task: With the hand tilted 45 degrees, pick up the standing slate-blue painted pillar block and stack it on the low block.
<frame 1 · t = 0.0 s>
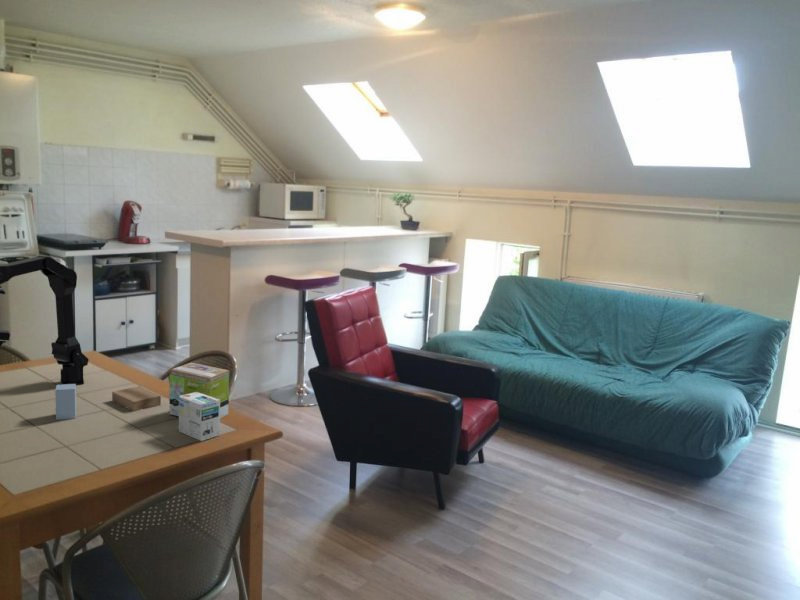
tea box: (199, 416, 202), on the table
pillar block: (66, 416, 194), on the table
light bulb box: (199, 434, 188), on the table
stack block: (136, 404, 209), on the table
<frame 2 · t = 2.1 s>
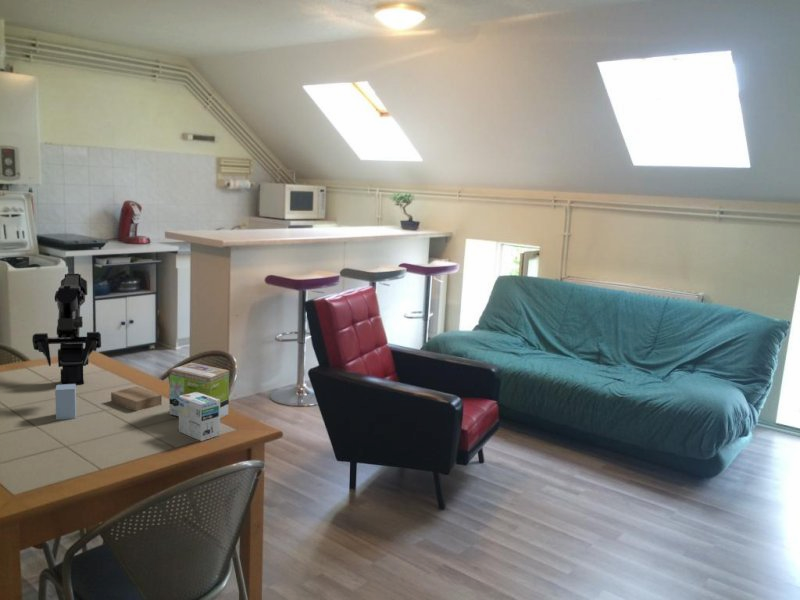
hand: (66, 364, 199), 13 cm above the table, tool tilted 45°, fingers open, 9 cm apart
nothing on the table moved.
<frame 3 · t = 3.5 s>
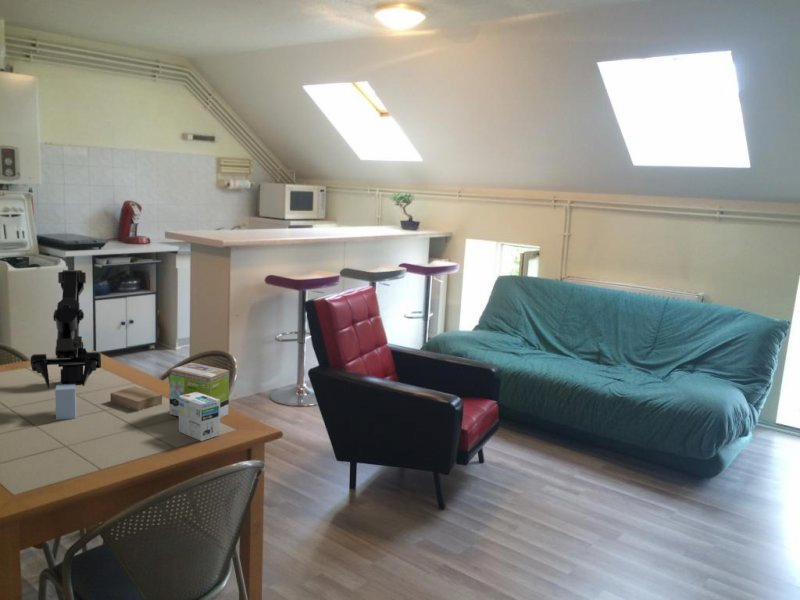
hand: (65, 386, 194), 9 cm above the table, tool tilted 45°, fingers open, 9 cm apart
nothing on the table moved.
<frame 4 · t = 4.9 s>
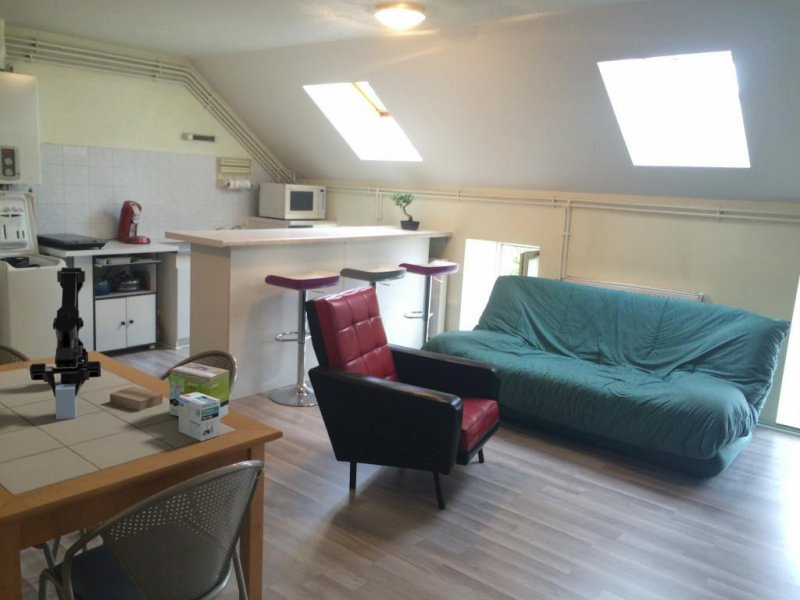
hand: (65, 396, 192), 7 cm above the table, tool tilted 45°, fingers closed on pillar block, 5 cm apart
pillar block: (66, 416, 194), on the table, touching gripper
everything else where it was.
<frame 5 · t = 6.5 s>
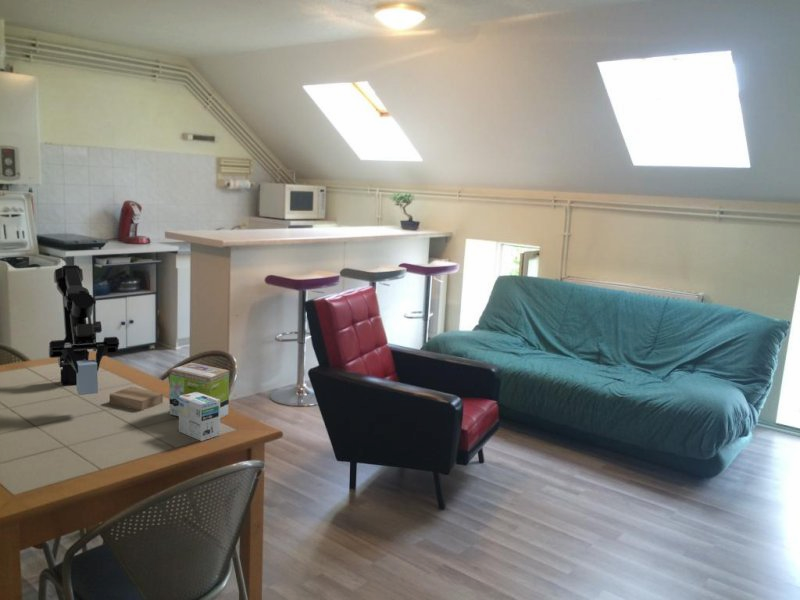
hand: (87, 371, 194), 13 cm above the table, tool tilted 45°, fingers closed on pillar block, 5 cm apart
pillar block: (87, 391, 196), point 7 cm above the table, touching gripper
when the fingers open (11 cm above the table, at t = 8.3 s): pillar block drops 1 cm, resting on stack block.
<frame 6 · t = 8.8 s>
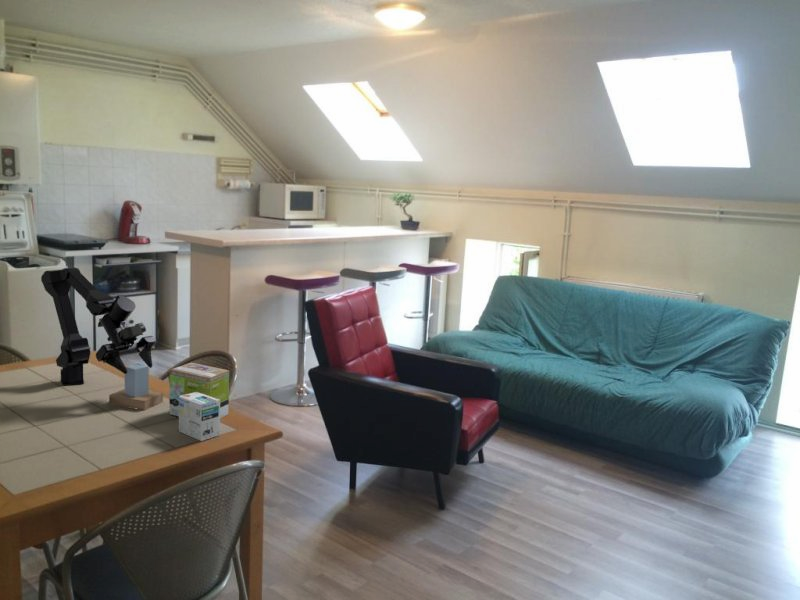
hand: (139, 370, 206), 11 cm above the table, tool tilted 45°, fingers open, 9 cm apart
pillar block: (136, 394, 208), point 3 cm above the table, touching stack block
stack block: (136, 404, 209), on the table, touching pillar block
everything else where it was.
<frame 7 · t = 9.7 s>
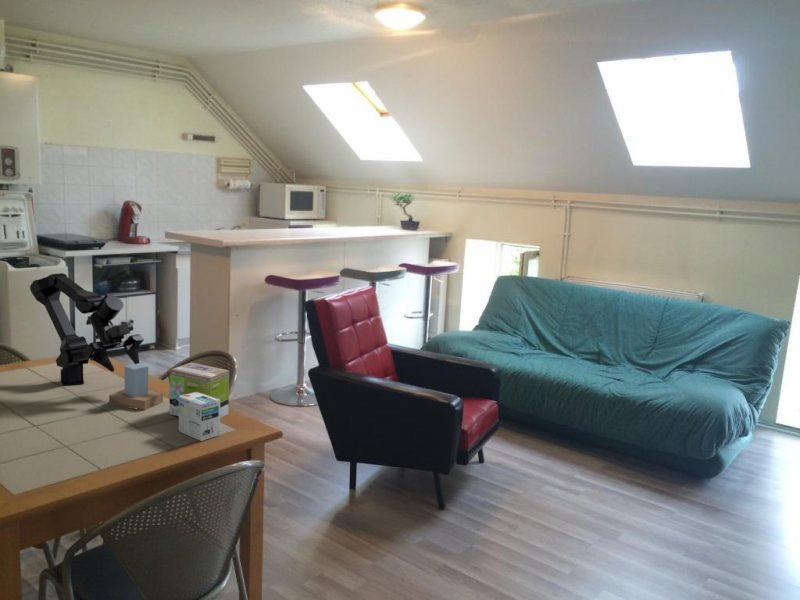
hand: (126, 368, 210), 10 cm above the table, tool tilted 45°, fingers open, 9 cm apart
pillar block: (136, 393, 209), point 3 cm above the table
stack block: (136, 404, 209), on the table
everything else where it was.
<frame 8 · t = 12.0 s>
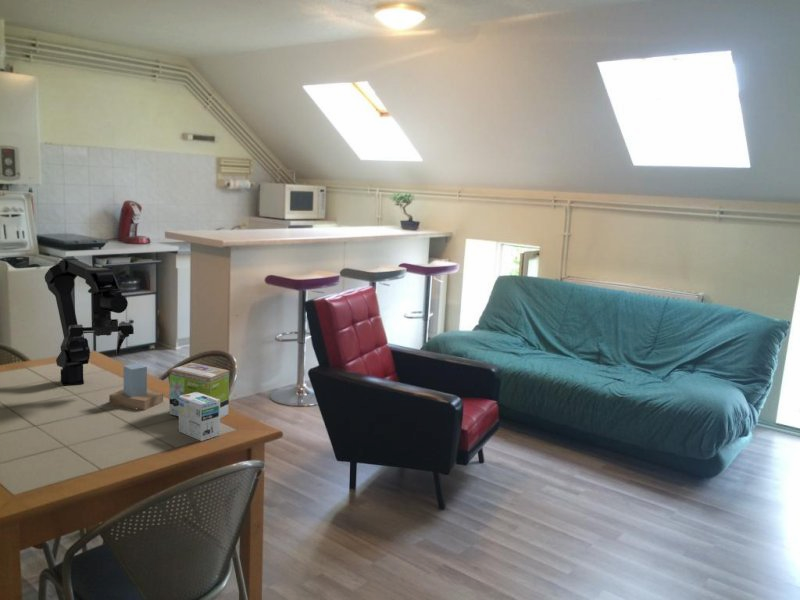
hand: (101, 355, 213), 13 cm above the table, tool pointing down, fingers open, 9 cm apart
pillar block: (135, 393, 208), point 3 cm above the table, touching stack block
stack block: (136, 404, 209), on the table, touching pillar block
everything else where it was.
at the end: pillar block inside the target area on the stack block (0.4 cm from its centre), point 3.5 cm above the stack block's base; pillar block tilted 1°; the gripper is holding nothing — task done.
